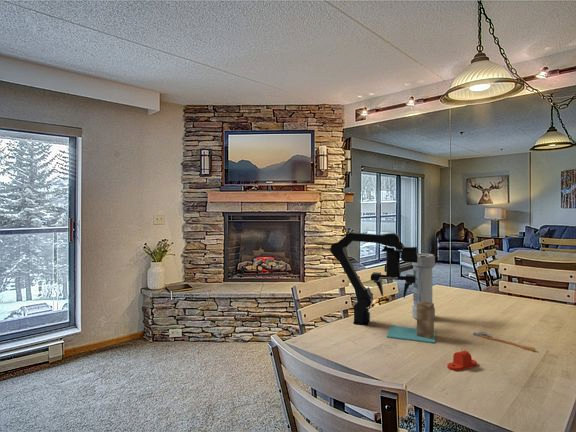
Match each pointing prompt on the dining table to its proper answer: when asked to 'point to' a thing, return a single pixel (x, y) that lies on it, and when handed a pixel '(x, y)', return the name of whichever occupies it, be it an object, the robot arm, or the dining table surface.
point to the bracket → (461, 361)
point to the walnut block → (425, 319)
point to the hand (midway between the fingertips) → (393, 297)
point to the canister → (422, 280)
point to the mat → (407, 334)
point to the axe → (488, 336)
